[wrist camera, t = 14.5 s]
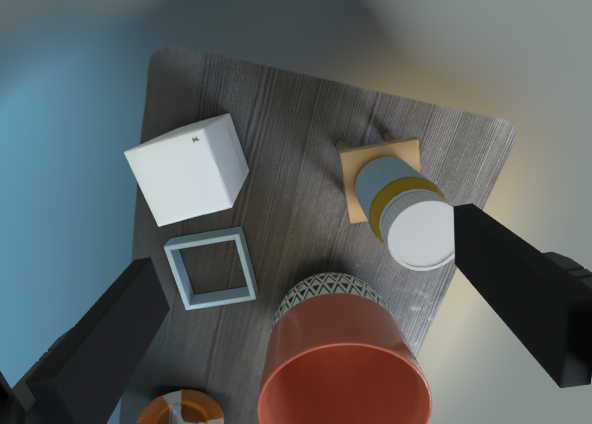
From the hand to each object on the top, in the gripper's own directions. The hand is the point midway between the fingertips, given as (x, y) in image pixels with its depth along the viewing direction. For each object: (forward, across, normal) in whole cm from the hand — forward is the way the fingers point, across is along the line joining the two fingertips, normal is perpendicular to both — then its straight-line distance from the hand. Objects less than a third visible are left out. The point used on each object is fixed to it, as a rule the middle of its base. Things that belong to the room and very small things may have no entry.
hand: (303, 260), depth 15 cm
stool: (+37, +9, -6) cm, 38 cm away
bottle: (+27, +9, -6) cm, 29 cm away
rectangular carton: (+37, -13, 0) cm, 39 cm away
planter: (+37, 0, -28) cm, 46 cm away
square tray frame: (+37, -17, -18) cm, 44 cm away
